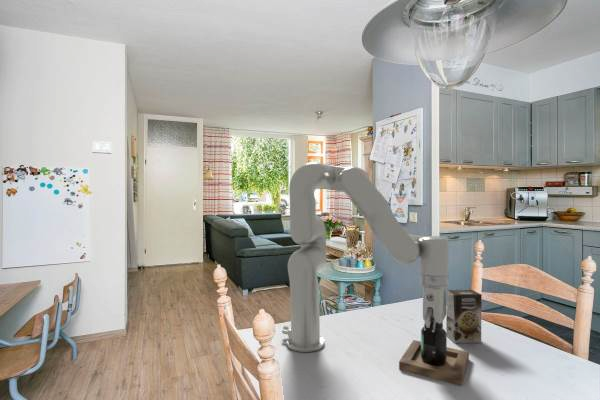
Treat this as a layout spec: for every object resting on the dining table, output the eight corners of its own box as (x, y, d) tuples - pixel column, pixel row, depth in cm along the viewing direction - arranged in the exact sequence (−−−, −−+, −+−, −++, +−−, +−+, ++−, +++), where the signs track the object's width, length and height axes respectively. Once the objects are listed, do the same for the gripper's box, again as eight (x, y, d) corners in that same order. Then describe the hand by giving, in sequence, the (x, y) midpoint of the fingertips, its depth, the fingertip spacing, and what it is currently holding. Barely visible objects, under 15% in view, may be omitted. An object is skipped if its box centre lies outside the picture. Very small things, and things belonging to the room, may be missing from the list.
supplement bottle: (418, 362, 97) (418, 321, 96) (424, 352, 102) (424, 313, 102) (444, 369, 93) (444, 326, 92) (448, 358, 99) (448, 318, 98)
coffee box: (455, 344, 110) (454, 295, 110) (445, 335, 117) (445, 289, 116) (482, 343, 110) (482, 294, 110) (471, 335, 117) (471, 288, 116)
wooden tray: (399, 369, 95) (399, 361, 95) (413, 346, 109) (413, 339, 109) (461, 385, 87) (461, 377, 87) (468, 359, 100) (468, 351, 100)
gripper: (442, 289, 88) (441, 354, 88) (452, 274, 102) (452, 330, 103) (413, 284, 92) (412, 346, 92) (426, 271, 106) (426, 325, 107)
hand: (433, 338), depth 98 cm, fingers open, 9 cm apart
